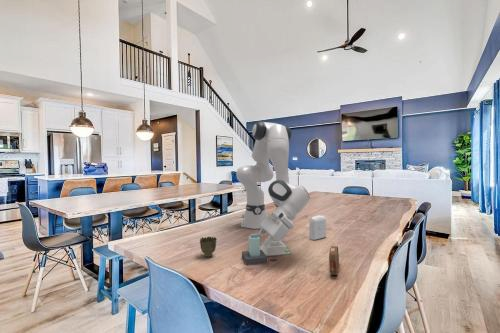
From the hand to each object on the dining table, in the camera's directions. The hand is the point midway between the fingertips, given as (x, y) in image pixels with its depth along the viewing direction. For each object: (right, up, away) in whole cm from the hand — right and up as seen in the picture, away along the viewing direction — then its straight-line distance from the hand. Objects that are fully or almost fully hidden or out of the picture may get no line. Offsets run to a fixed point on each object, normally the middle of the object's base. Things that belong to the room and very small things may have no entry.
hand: (260, 241), depth 112 cm
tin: (+28, -9, -10) cm, 31 cm away
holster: (-3, -8, 0) cm, 9 cm away
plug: (-3, -8, 0) cm, 9 cm away
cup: (-23, -8, +4) cm, 25 cm away
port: (+7, -8, +11) cm, 15 cm away
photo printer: (+32, -7, +30) cm, 44 cm away
